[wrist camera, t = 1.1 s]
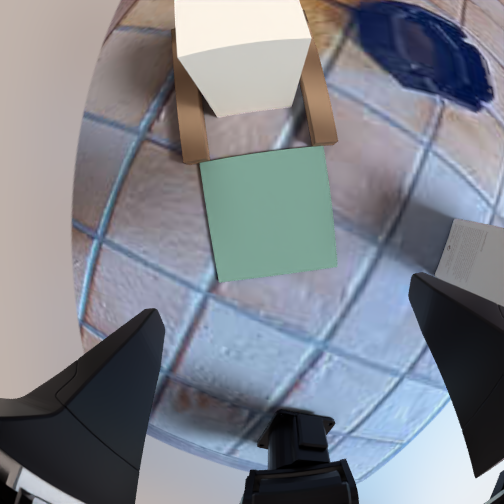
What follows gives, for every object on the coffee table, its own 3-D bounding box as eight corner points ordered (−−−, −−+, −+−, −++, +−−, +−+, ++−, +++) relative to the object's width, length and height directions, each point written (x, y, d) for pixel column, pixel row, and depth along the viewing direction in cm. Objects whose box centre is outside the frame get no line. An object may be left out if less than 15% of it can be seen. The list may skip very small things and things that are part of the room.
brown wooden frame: (332, 144, 18) (338, 141, 17) (189, 165, 19) (183, 162, 18) (302, 19, 16) (304, 9, 15) (176, 37, 17) (171, 29, 15)
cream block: (291, 107, 18) (311, 38, 8) (217, 117, 18) (177, 57, 9) (278, 48, 17) (285, -35, 7) (209, 58, 17) (174, -18, 8)
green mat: (336, 265, 20) (337, 266, 20) (219, 281, 21) (219, 282, 21) (322, 146, 18) (323, 145, 18) (200, 163, 19) (199, 163, 19)
